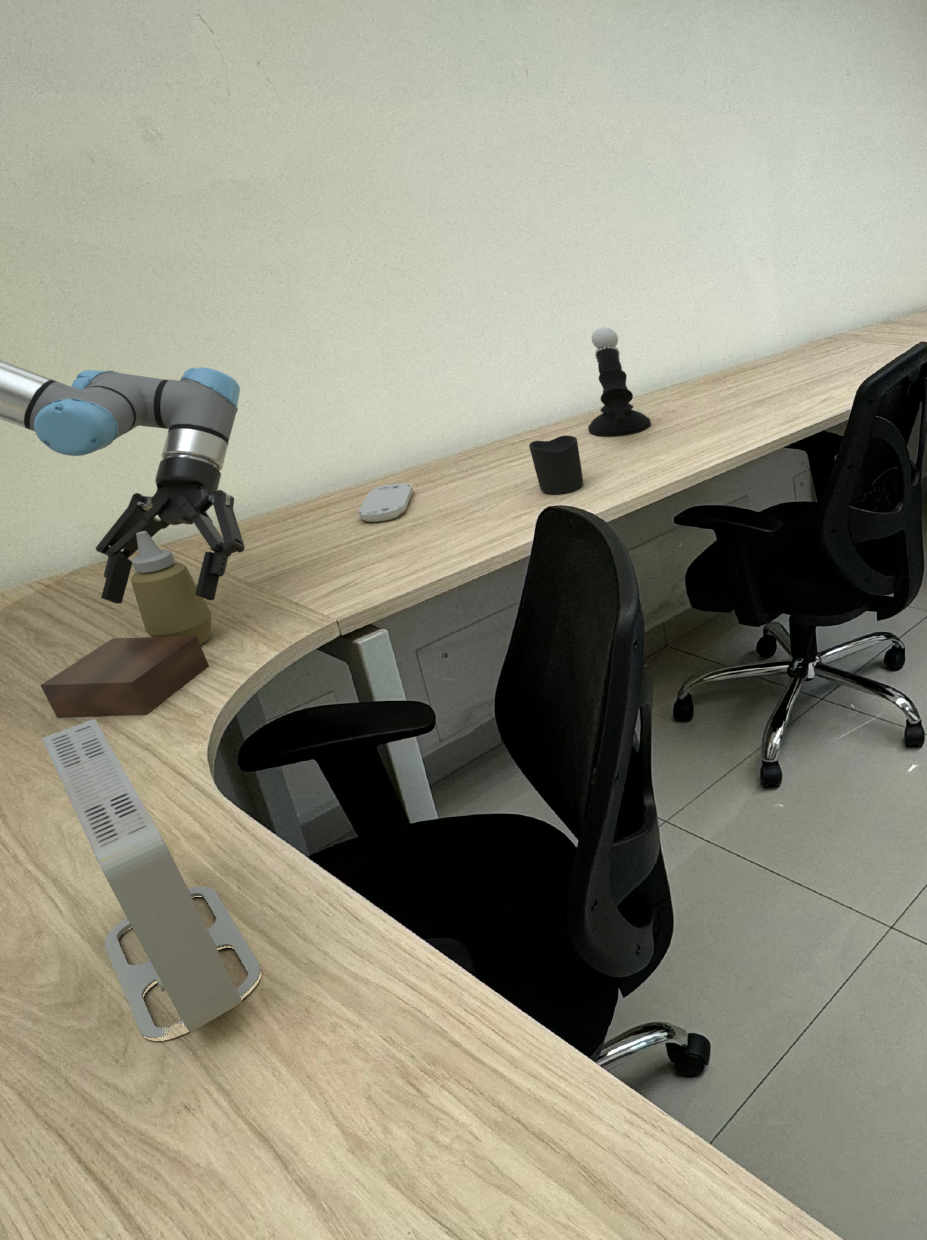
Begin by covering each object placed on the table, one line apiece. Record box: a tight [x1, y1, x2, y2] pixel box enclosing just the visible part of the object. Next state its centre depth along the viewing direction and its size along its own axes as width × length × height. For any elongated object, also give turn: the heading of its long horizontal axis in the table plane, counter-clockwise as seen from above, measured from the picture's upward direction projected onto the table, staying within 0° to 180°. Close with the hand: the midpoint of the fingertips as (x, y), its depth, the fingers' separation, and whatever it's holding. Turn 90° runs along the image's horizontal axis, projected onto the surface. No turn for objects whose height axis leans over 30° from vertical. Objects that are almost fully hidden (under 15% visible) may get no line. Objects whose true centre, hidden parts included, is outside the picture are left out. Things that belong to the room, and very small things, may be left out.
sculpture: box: [587, 326, 652, 437], centre depth 221 cm, size 15×24×25 cm, turn 20°
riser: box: [40, 636, 210, 718], centre depth 123 cm, size 12×12×5 cm
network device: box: [41, 718, 262, 1038], centre depth 78 cm, size 26×9×20 cm, turn 48°
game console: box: [357, 482, 414, 523], centre depth 184 cm, size 18×2×8 cm
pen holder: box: [528, 435, 584, 495], centre depth 189 cm, size 9×9×10 cm
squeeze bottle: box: [130, 531, 212, 646], centre depth 132 cm, size 8×8×18 cm
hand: (157, 599), depth 131 cm, fingers open, 13 cm apart
